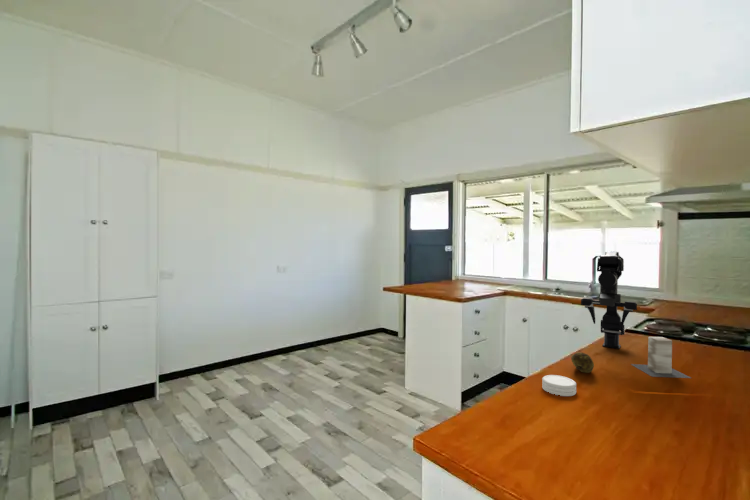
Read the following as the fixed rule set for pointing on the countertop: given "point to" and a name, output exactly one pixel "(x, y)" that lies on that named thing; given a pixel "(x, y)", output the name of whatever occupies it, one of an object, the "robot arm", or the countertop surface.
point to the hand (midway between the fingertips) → (607, 325)
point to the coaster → (559, 385)
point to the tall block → (660, 354)
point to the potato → (582, 362)
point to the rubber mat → (674, 373)
